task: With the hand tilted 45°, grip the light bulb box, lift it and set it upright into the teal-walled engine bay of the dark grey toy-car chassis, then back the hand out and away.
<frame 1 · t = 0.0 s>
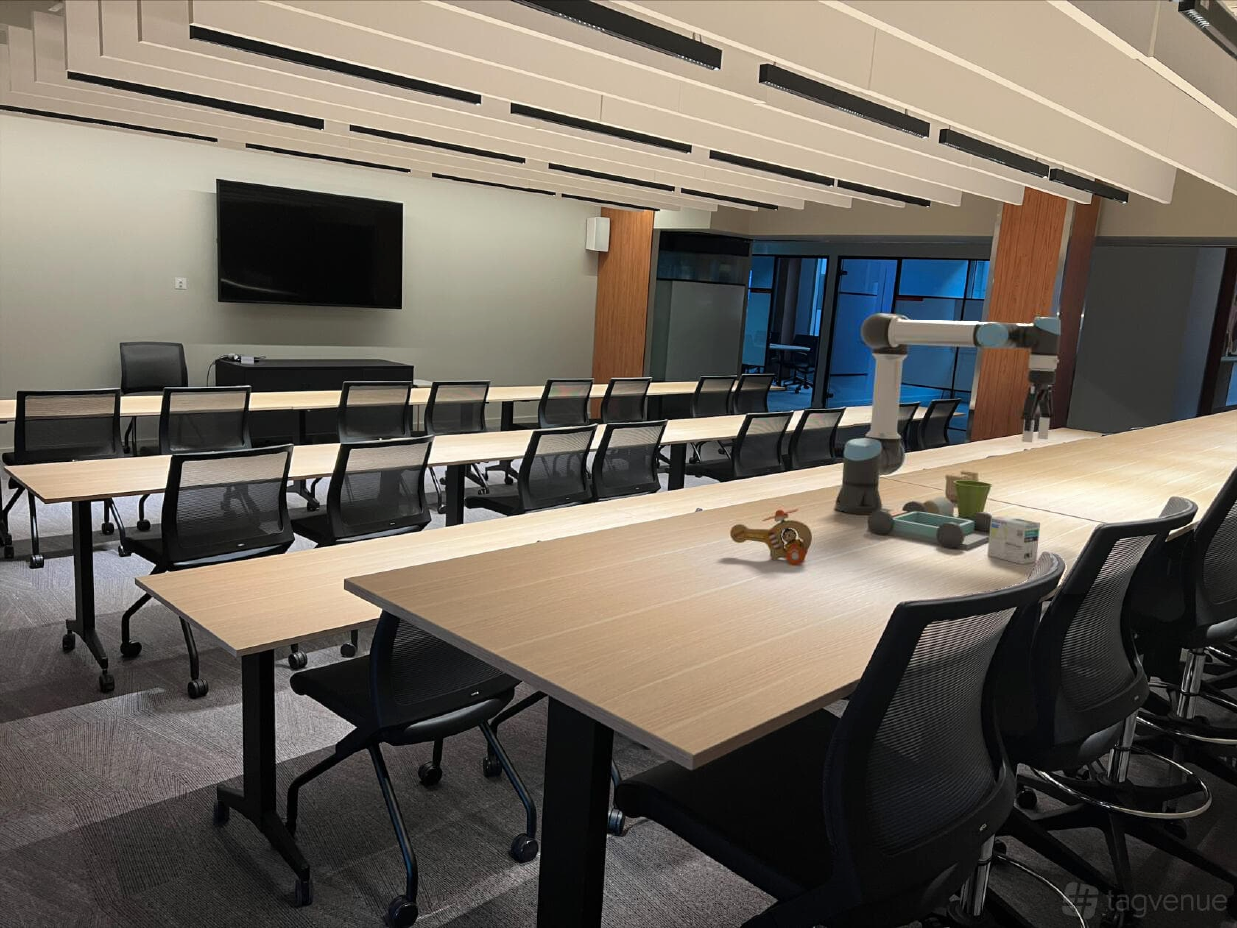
hand: (1034, 440, 274), 28 cm above the table, tool pointing down, fingers open, 13 cm apart
toy helicopter: (773, 559, 234), on the table
light bulb box: (1011, 559, 244), on the table
chassis: (930, 534, 269), on the table
toy train: (960, 501, 327), on the table
ceramic mug: (939, 523, 287), on the table
plant pot: (969, 517, 298), on the table
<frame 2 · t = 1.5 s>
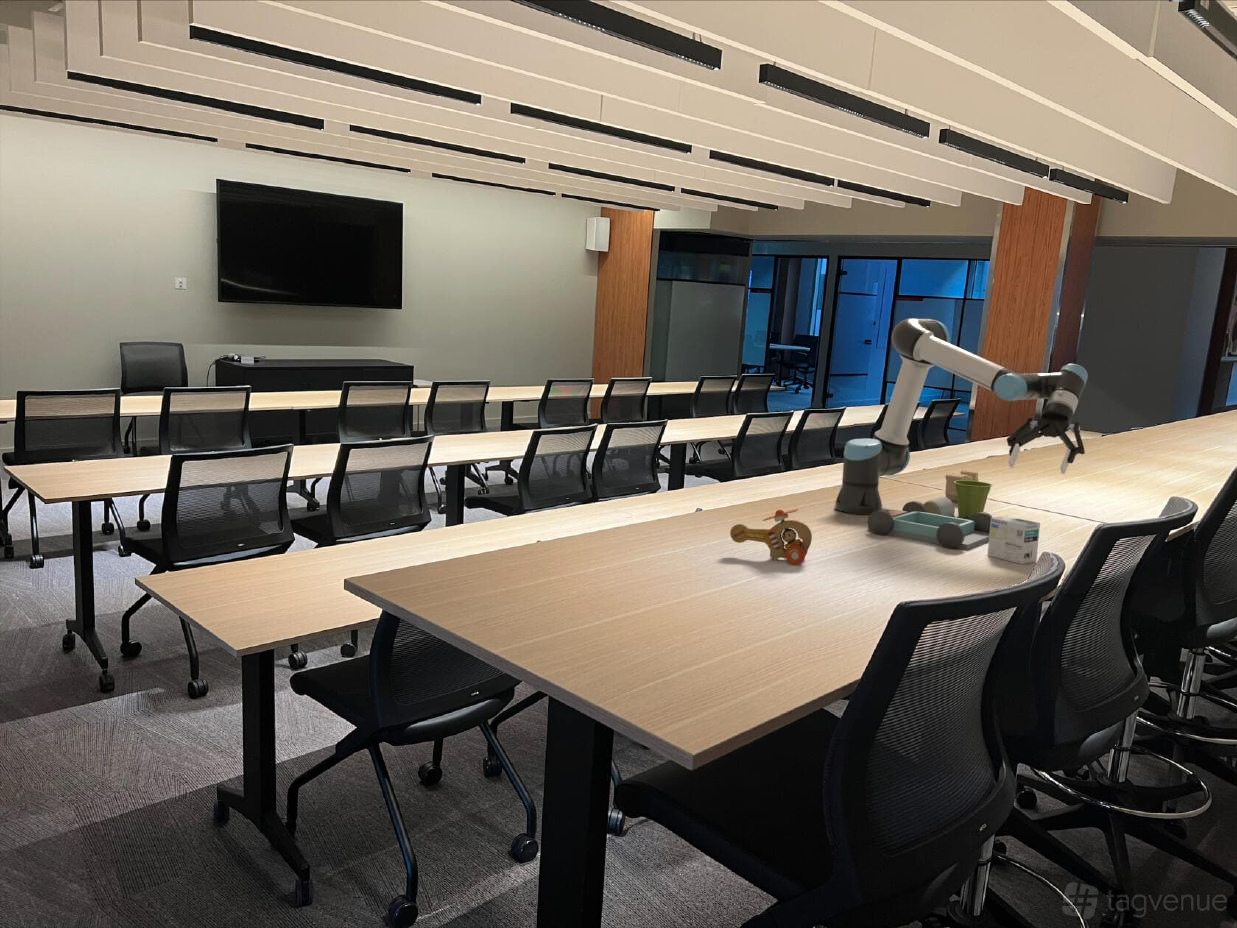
hand: (1035, 467, 248), 24 cm above the table, tool tilted 45°, fingers open, 13 cm apart
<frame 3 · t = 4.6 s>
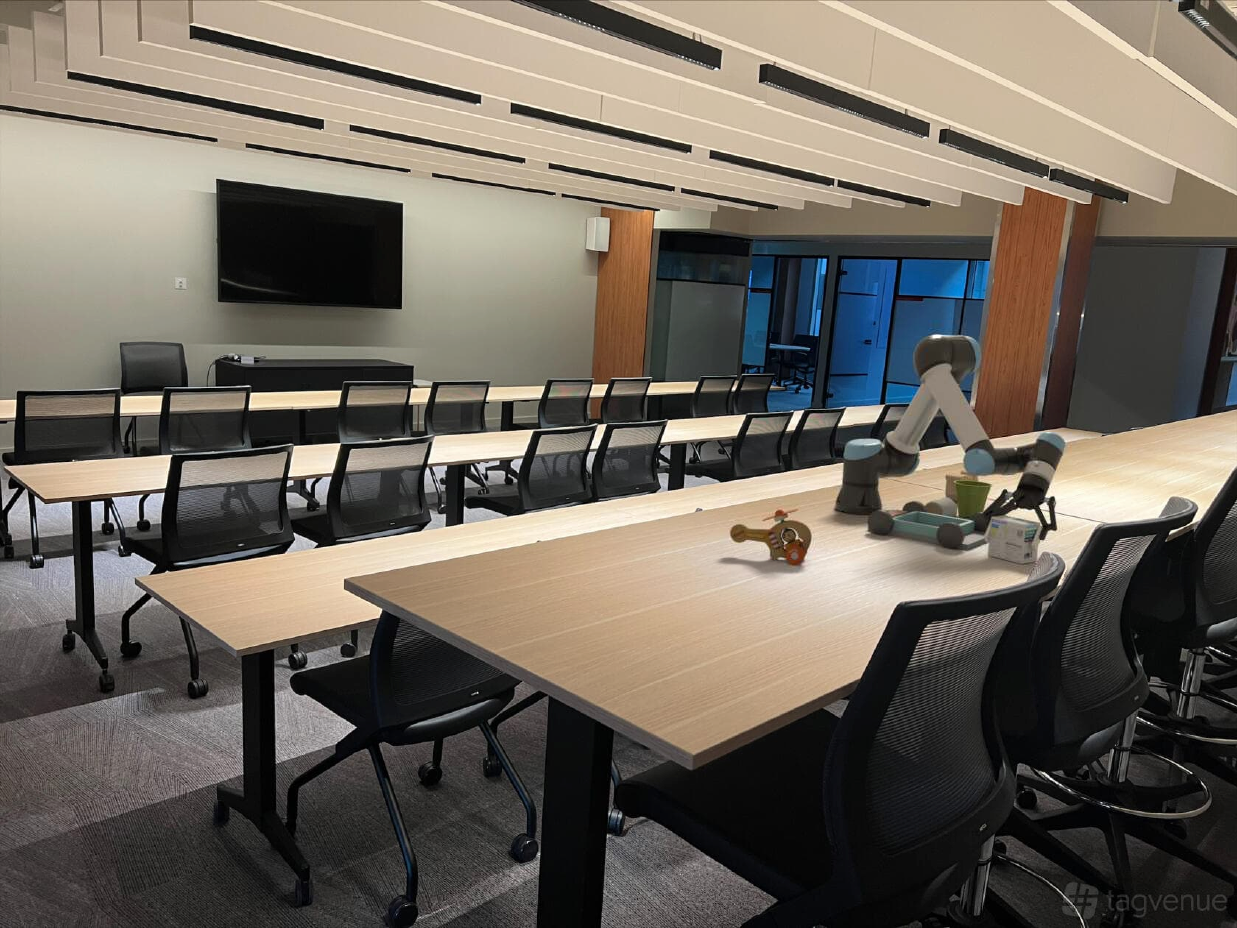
hand: (1009, 543, 241), 4 cm above the table, tool tilted 45°, fingers closed on light bulb box, 12 cm apart
light bulb box: (1011, 559, 243), on the table, touching gripper
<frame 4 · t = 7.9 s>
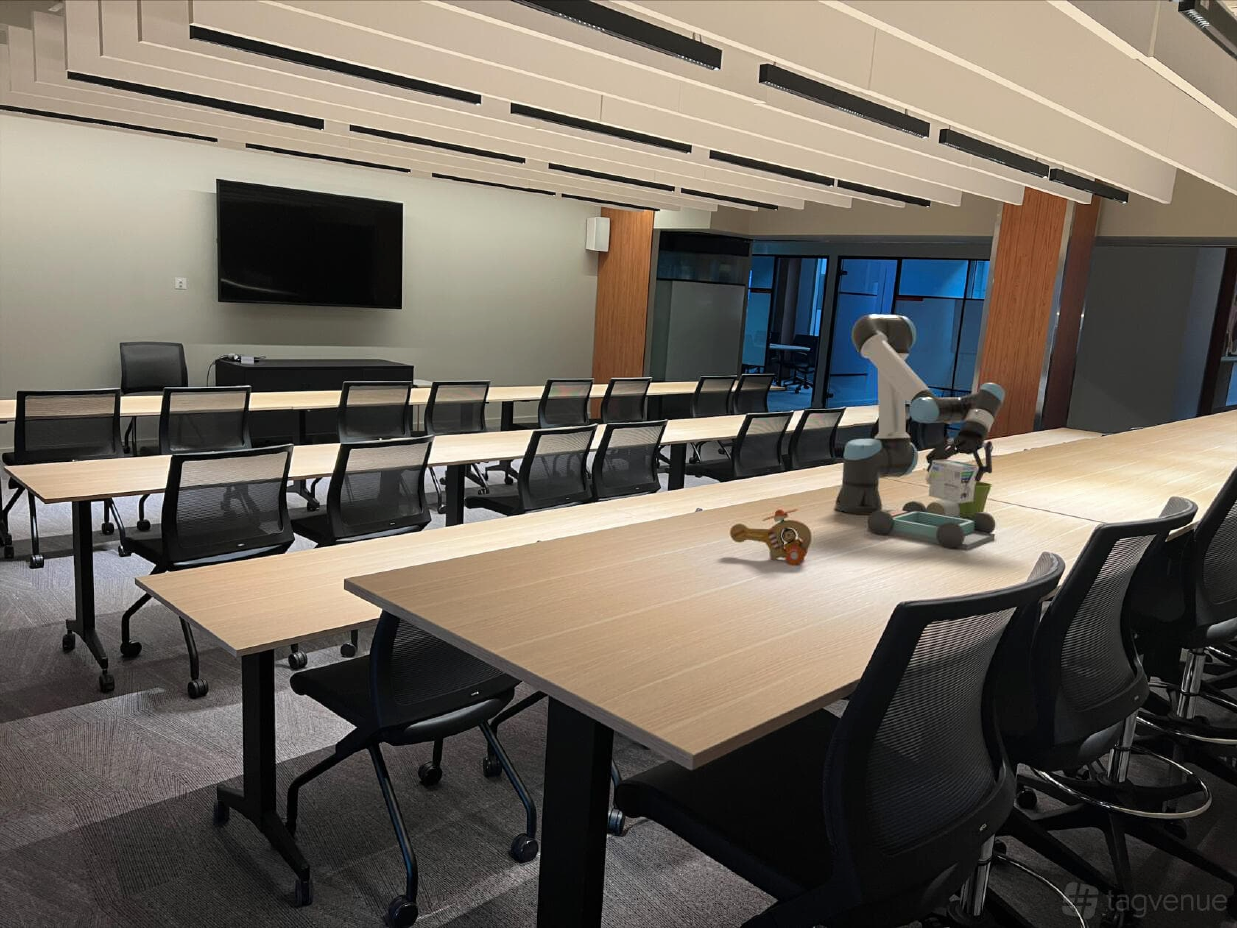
hand: (948, 485, 259), 16 cm above the table, tool tilted 45°, fingers closed on light bulb box, 12 cm apart
light bulb box: (950, 499, 261), point 12 cm above the table, touching gripper
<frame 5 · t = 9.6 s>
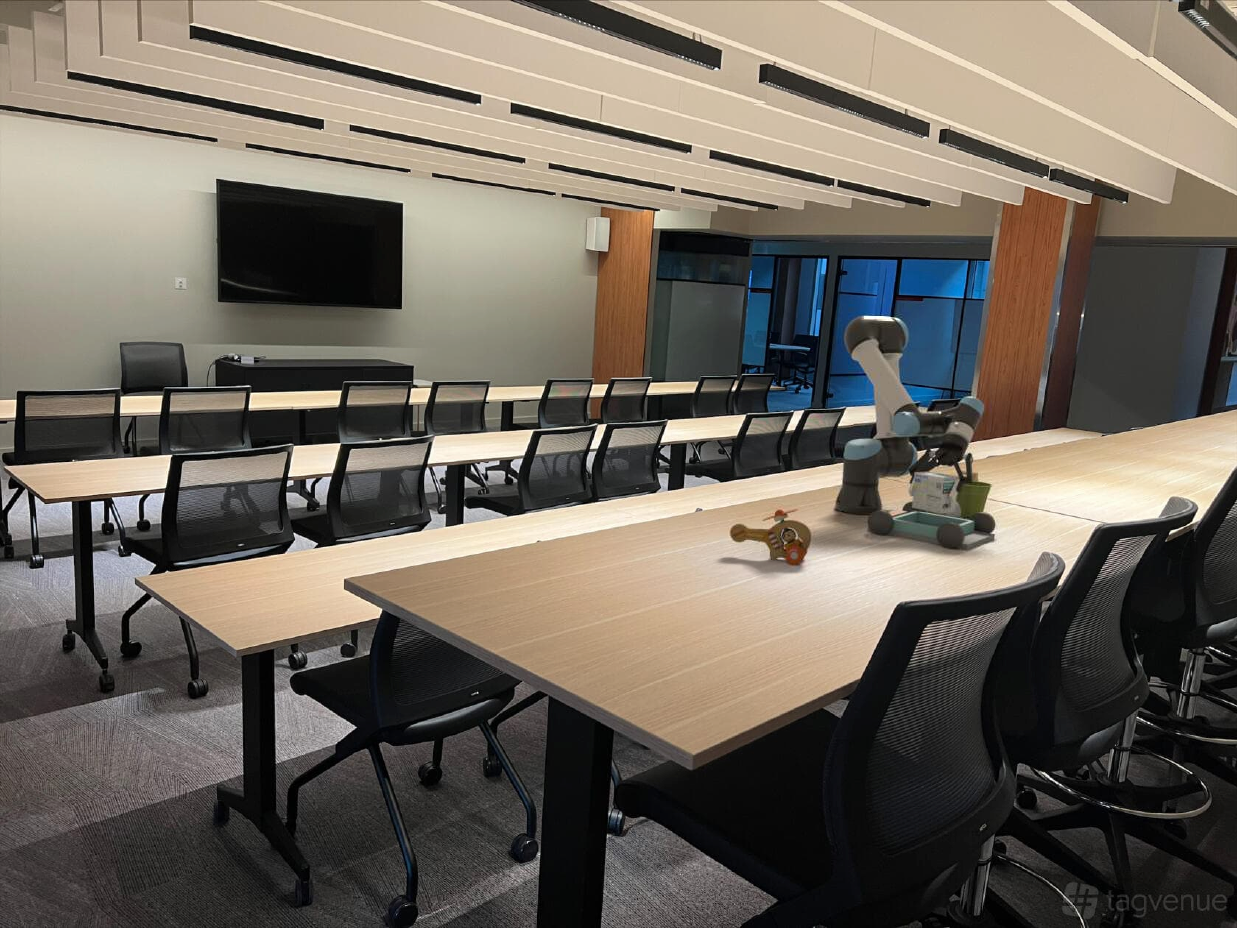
hand: (930, 496, 265), 12 cm above the table, tool tilted 45°, fingers closed on light bulb box, 12 cm apart
light bulb box: (933, 510, 267), point 7 cm above the table, touching gripper
when the fingers open (7 cm above the table, at t = 11.1 s): light bulb box stays where it is, resting on chassis.
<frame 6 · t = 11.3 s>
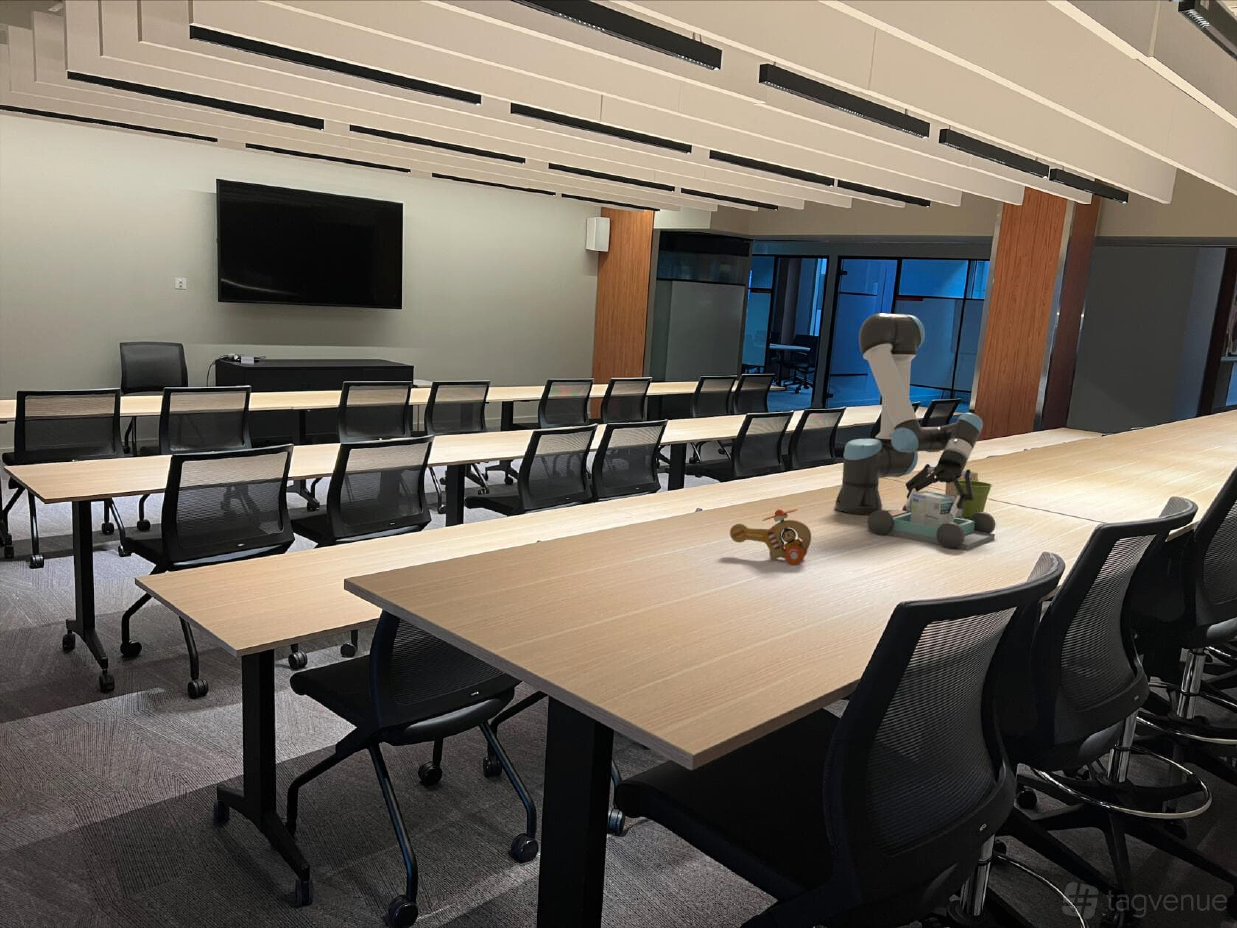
hand: (929, 512, 266), 7 cm above the table, tool tilted 45°, fingers open, 13 cm apart
light bulb box: (930, 530, 269), point 1 cm above the table, touching chassis
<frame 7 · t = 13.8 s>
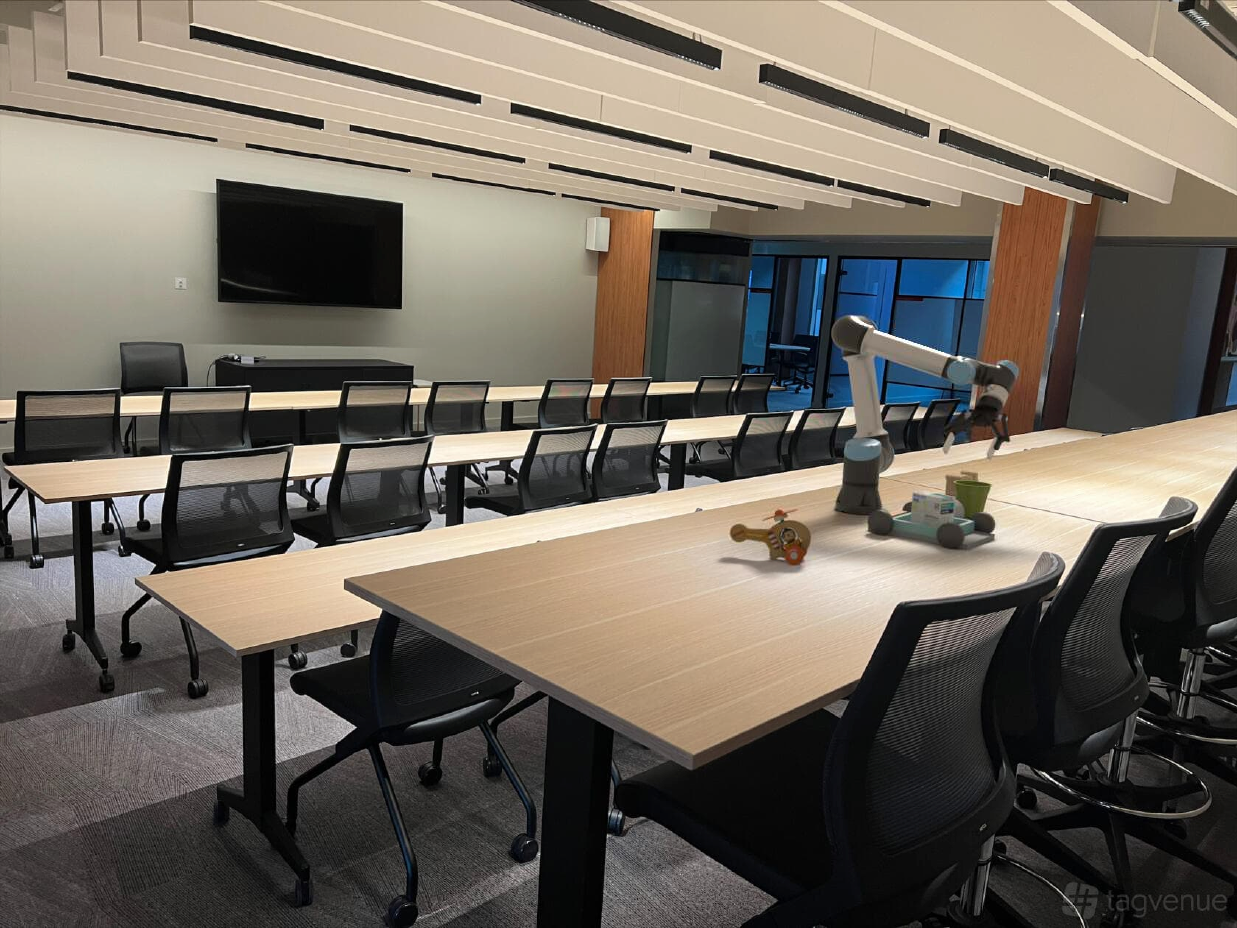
hand: (966, 454, 275), 23 cm above the table, tool tilted 45°, fingers open, 13 cm apart
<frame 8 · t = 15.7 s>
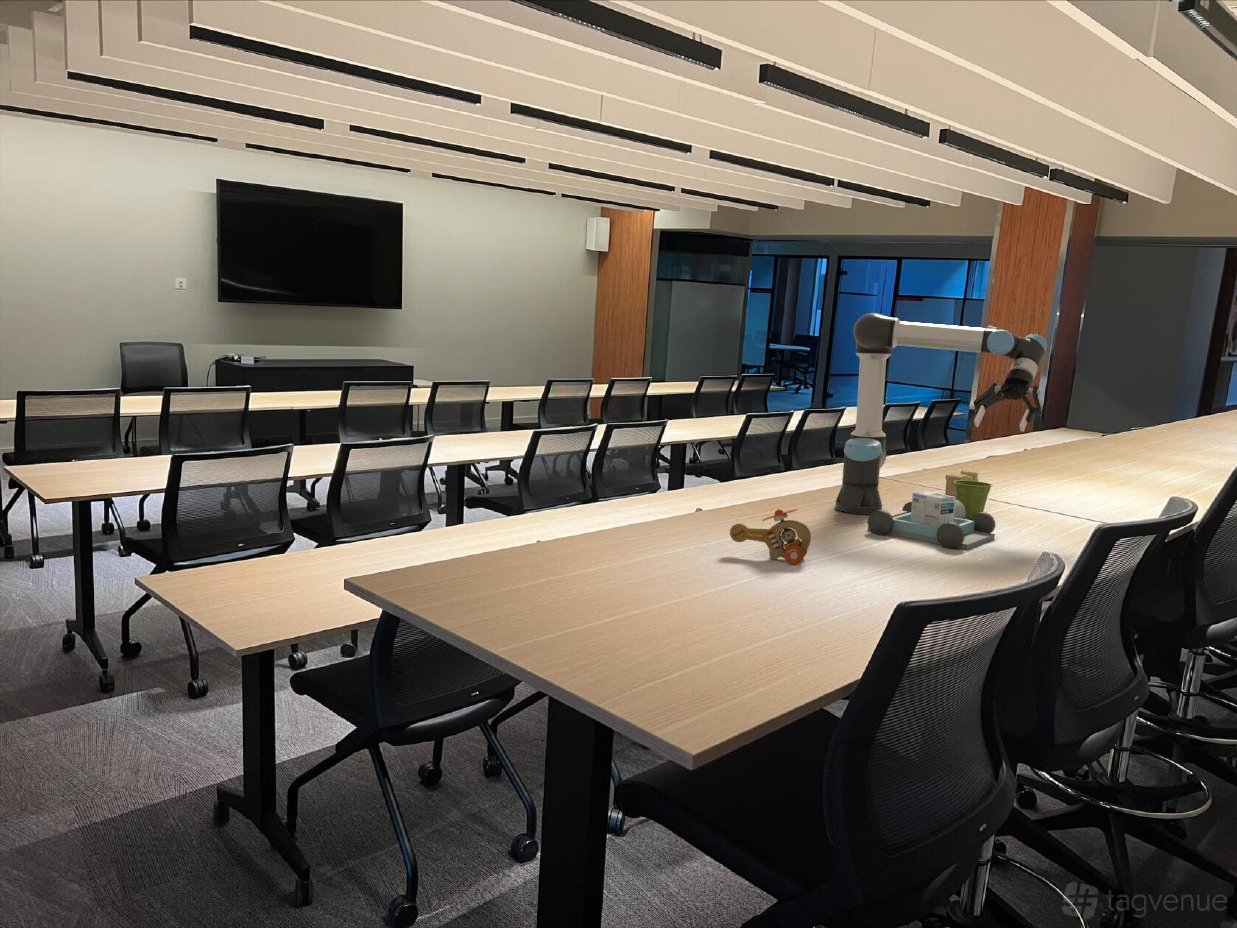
hand: (998, 426, 276), 32 cm above the table, tool tilted 45°, fingers open, 13 cm apart
at the end: light bulb box inside the target area on the chassis (0.1 cm from its centre), point 1.3 cm above the chassis's base; light bulb box tilted 0°; the gripper is holding nothing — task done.
